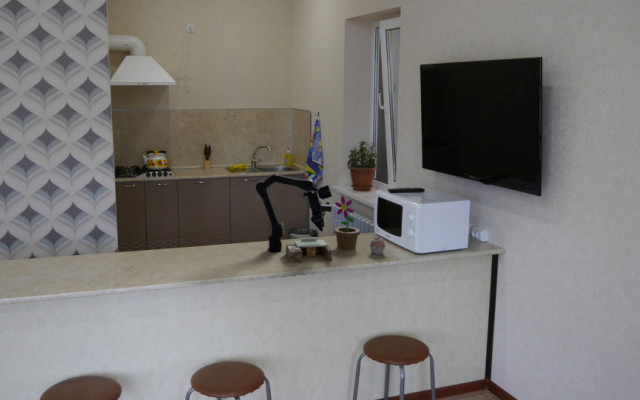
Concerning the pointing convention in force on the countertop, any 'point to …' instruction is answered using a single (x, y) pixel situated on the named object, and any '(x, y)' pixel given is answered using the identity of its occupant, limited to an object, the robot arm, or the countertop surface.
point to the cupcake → (377, 246)
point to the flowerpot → (346, 228)
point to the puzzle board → (296, 252)
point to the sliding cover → (310, 242)
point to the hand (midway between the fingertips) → (322, 229)
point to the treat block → (310, 251)
